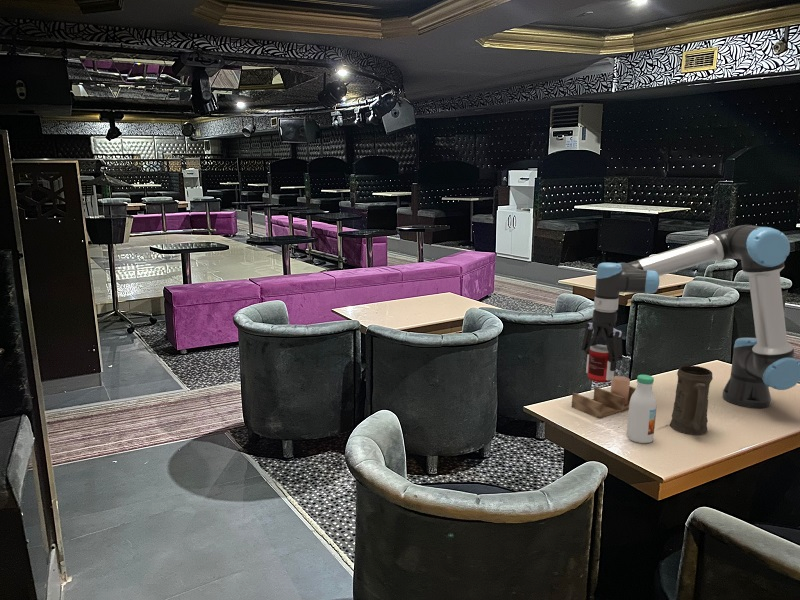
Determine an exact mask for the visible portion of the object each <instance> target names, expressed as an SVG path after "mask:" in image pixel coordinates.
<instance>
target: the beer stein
mask: <svg viewBox="0 0 800 600" xmlns="http://www.w3.org/2000/svg"><path fill="white" fill-rule="evenodd" d="M676 375H677V384H676V389H675V398H674V403H673V410H672V412H671V413H672V414H671V420H670V424H669V425H670V427H671V428H672V429H674V430H675V431H677V432H679V433H682V434H687V435H693V436H694V435H695V436H696V435H697V436H701V435H705V434H706V433H708V429H709V428H708V422H709V421H708V407H709V393H710V391H709V390H710V386H711V385H710V384H711V382H712V381H713V372H712V371H711V370H710V369H708V368H705V367H702V366H698V365H681V366H679V367H678V370H677V372H676Z"/></svg>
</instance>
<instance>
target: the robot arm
mask: <svg viewBox="0 0 800 600" xmlns="http://www.w3.org/2000/svg"><path fill="white" fill-rule="evenodd" d="M790 252H791V244H790V240H789V239H788V236H786V235H785V233H784V232H782V231H780V230H779V229H776V228H773V227H770V226H769V227H768V226H758V225H752V224H744V225H743V224H741V225H737V226H734V227H731V228H727V229H724V230H722V231H718V232H716V233H712V234H709V235H708V237H707V238H706V239H705V238H704V239H703V240H698V241H696V242H693V243H690V244H689V243H688V244H686V245H682V246H680V247H677V248H673V249H670V250H667V251H663V252H659V253H657V254H654V255H650V256H647V257H644V258H641V259H637V260H634V261H630V262H627V263H626V262H617V263H616V262H601V263H599V264H598V266H597V267H596V268H597V269H596V275H595V278H596V279H595V289H594V299H593V300H594V302H593V308H594V309H593V311H592V312H593V313H592V320H593V321H592V322H585V324H584V325H585V326H584V328H585V331H584V335H583V338H582V340H583V341H582V344H581V351H583V352H585V360H584V361H585V363H586V370H585V373H586V374H588V363H589V351H590V346H593V345H598V342H599V340H600V338H602V339H603V340H604V342H605V345H607V350H608V354H609V358H610V360H609V361H608V363H607V374H606V380H610V381H611V380H612V379H613V377H614V376H615V374H614V373H615V372H616V371H617V370H616V369H617V363H618V362H620V361H623V355H624V354H623V335H624V330H619V329H617V327H616V323H617V319H618V310H619V302H620V301H619V298H620V293H622V294H623V293H625V294H626V293H629V294H645V295H646V294H654V293H656V292H657V291H658V289H659V288H660V277H661V276H665V275H668V274H672V273H675V272H678V271H679V272H680V271H682V270H685V269H688V268H691V267H695V266H698V265H701V264H705V263H708V262H712V261H716V262H721V261H724V260H732V259H733V260H741V261H740V263H741V269H742V272H743V273H745V274H746V275H747V276H748V282H749V283H748V285H749V291H750V299H751V308H752V314H753V315H752V316H753V323H754V331H755V337H739V338H737V339H735V341H734V345H733V352H732V353H733V355H732V361H731V362H732V363H731V369H730V377H729V379H728V380H727V383H726V384H725V387H724V388H723V389H722V396H721V397H722V398H723V399H724V400H725V401H726V402H728V403H731V404H733V405H737V406H741V407H745V408H756V409H763V408H764V409H765V408H768V407H770V406H771V405H772V404H771V403H772V395H771V392H770V388H771V389H775V390H777V391H786V390H789V389H792V388H794V387H795V386H796V385H797V384H798V383H799V382H800V361H799V360H798V359H797V358H796V357H795V349H794V346H793V344H791V343H790V342H788V338H787V337H788V336H787V328H786V319H785V311H784V310H785V309H784V302H783V301H784V300H783V292H782V283H781V275H780V274H781V273H780V272H781V271H782V270H783V269H784V268H785V261H786V259H787V257H788V256H789V255H790Z"/></svg>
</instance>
